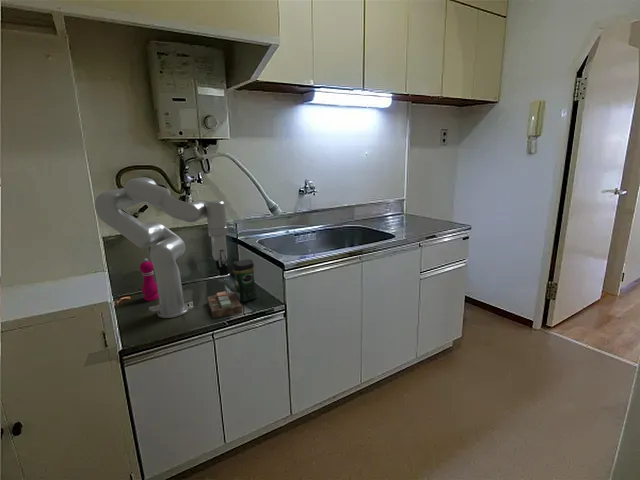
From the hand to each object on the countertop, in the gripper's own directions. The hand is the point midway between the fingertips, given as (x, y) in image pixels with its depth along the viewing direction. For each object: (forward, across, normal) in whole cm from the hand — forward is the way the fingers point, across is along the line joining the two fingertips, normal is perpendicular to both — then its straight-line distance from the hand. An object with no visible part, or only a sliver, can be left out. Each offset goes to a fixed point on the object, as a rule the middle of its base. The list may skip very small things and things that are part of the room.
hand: (222, 272), depth 155 cm
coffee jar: (+18, -11, +11) cm, 24 cm away
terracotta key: (+16, -11, 0) cm, 20 cm away
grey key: (+16, -5, 0) cm, 17 cm away
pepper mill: (+18, -33, -30) cm, 48 cm away
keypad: (+18, -5, 0) cm, 19 cm away
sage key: (+16, 0, 0) cm, 16 cm away
